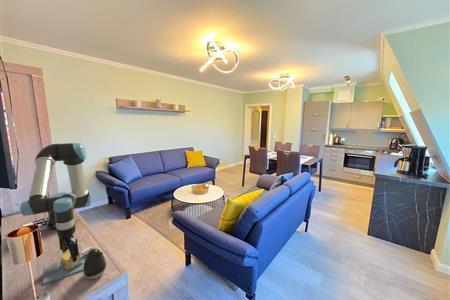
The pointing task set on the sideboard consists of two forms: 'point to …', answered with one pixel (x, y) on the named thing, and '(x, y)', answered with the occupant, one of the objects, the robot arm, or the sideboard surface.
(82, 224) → the sideboard surface
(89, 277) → the dark grey dome
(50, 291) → the sideboard surface
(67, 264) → the coupler
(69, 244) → the robot arm
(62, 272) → the shaft rig
